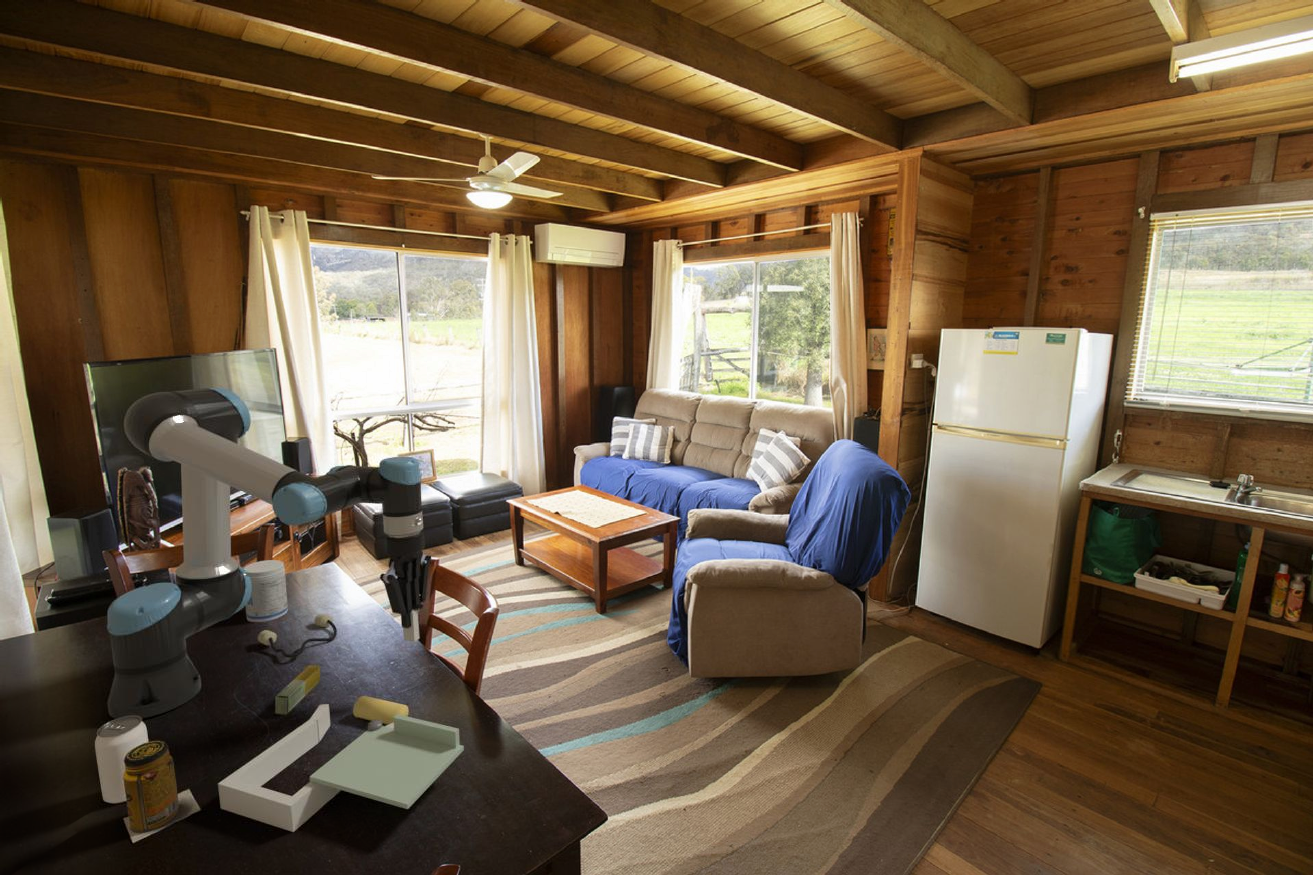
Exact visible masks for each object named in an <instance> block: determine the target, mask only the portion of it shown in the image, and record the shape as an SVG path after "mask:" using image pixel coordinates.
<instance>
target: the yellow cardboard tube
mask: <svg viewBox="0 0 1313 875" xmlns="http://www.w3.org/2000/svg"><path fill="white" fill-rule="evenodd" d="M352 710H353V711H352V713H353V714H352V715H353V716H354V717H355V718H360V719H363V720H367V721H370V722H371V721H373V720H381V721H382V725H383V724H384V725H389V724H391V723H393V722H394V721H393V717H395V716H396V715H397V714H398V715H403V716H407V717H409V712H410V711H409V706H408V705H407V704H403V703H399V702H393V701H389V700H385V699H380V698H375V697H371V696H366V695H362V696H360V697H359V698H358V699H357V700H356V701H355V703H354V705H353V709H352Z"/></svg>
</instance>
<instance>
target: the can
mask: <svg viewBox="0 0 1313 875" xmlns="http://www.w3.org/2000/svg"><path fill="white" fill-rule="evenodd" d="M96 735H97V736H96V738H95V740H94V748H95V756H96V763H97V769H98V776H99V783H100V789H101V793H102V794H101V795H102V799H103V801H104V802H106V803H108V804H121V803H127V800H126V793H125V786H124V780H123V775H124V772H125V763H124V759H125V756H126V755H127V753H128V752H129V751H131V750H132V749H134V748H135V747H137V746H139V745H141V744H144V743H147V742H149V738H148V735H149V734H148V730H147V726H146V724H145V722H144V721H143V718H141V717H140V716H136V715H132V716H125V717H121V718H118V719H115V718H114V719H113V720H110V721H108V722H107V723H104V724H103V725H102V726H100V728H98V730H97V731H96Z"/></svg>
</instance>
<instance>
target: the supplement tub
mask: <svg viewBox="0 0 1313 875" xmlns="http://www.w3.org/2000/svg"><path fill="white" fill-rule="evenodd" d="M243 569H244V570H245V571H246V572H247V574H246V576H247V577H250V580H251V585H252V591H251V596H250V598H249V601H248V602H247V604H246V605H245V614H246V620H247V621H248V622H251V623H263V622H269V621H273V620H276V619H278V618H280V617H282V616H284V615H285V614H287V612H288V611H289V610H288V609H289V607H288V594H287V581H286V580H287V579H286V570H285V569H286V568H285V564H284V561H281V560H279V559H278V560H277V559H271V560H270V559H268V560H267V559H266V560H260V561H256V562H252V563H249V564H247V565H245V567H243Z"/></svg>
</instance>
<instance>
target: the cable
mask: <svg viewBox="0 0 1313 875" xmlns="http://www.w3.org/2000/svg"><path fill="white" fill-rule="evenodd" d="M333 620H334V619H333V617H332V615H330V614H324V613H319V614H317V615H316V616H315V617H314V621H313V622H314V625H315V626H318V627H322V628H328V627H330V626H331V628H332V630H333V635H332V636H331V637H325V638H322V637H321V638H319V637H318V638H317V637H314V638H312V637H311V638H308V639H306V640H304V641H303V642H302V644H301V646H300V650H299V651H297V652H295V653H291V654H290V653H287V652H286V650H284V648H277V647H276V646H275V642H276V641H277V638H278V637H277V634H276V633H275V632H274V631H271V630H268V629H267V630H262V631H261V632H259V634H258V636H257V641H258V642H259V643H261V644H263V645H266V646H270V647H271V650H272V651H274V652H275V653H281V654H282V656H283V657H285V658H295V657H298V656H300V655H301V654H302V653H303V652H304V650H305V646H306V645H307V644H308V643H311V642H331V641H333V640H334V639H335V638H336V637H337V634H338V630H337V627H336V625H335V623H334V622H333Z"/></svg>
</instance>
